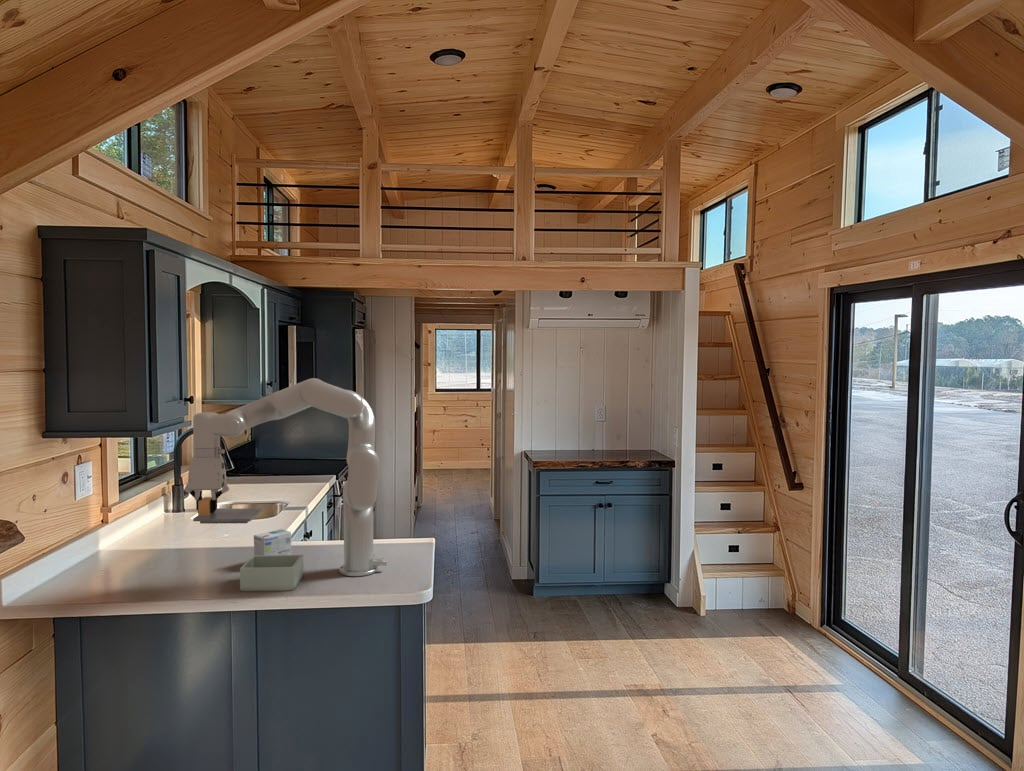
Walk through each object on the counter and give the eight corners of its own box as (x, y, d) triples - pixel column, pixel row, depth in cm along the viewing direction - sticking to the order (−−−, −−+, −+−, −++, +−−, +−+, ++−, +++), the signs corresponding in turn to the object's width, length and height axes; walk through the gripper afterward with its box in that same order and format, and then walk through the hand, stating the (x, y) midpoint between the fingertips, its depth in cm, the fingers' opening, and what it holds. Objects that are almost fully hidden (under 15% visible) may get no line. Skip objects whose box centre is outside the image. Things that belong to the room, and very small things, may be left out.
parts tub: (303, 578, 224) (303, 554, 224) (294, 592, 211) (294, 567, 211) (252, 579, 223) (252, 555, 222) (240, 594, 210) (239, 568, 209)
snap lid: (262, 514, 222) (262, 494, 222) (250, 524, 208) (250, 503, 208) (208, 514, 220) (208, 494, 220) (193, 524, 207) (193, 503, 207)
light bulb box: (281, 558, 243) (281, 528, 242) (292, 562, 238) (292, 531, 238) (253, 566, 234) (252, 534, 234) (264, 570, 230) (263, 538, 229)
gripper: (237, 451, 217) (237, 509, 218) (183, 450, 216) (183, 509, 217) (230, 454, 210) (230, 515, 211) (174, 454, 208) (174, 515, 209)
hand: (206, 511), depth 214 cm, fingers closed on snap lid, 3 cm apart
